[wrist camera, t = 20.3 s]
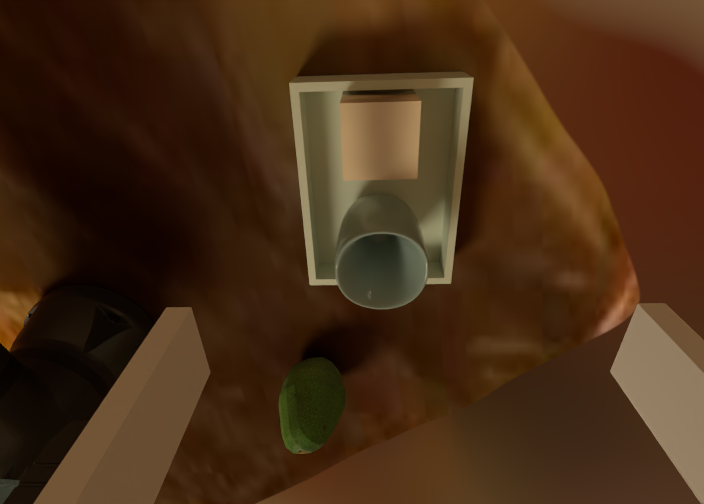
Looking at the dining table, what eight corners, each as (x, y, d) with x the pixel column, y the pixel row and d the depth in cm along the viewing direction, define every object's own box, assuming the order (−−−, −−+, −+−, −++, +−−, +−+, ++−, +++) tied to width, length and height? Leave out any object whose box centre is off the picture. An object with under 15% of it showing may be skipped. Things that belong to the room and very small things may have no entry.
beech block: (346, 158, 38) (343, 180, 33) (343, 90, 35) (339, 103, 30) (410, 156, 38) (417, 179, 33) (412, 88, 35) (421, 101, 30)
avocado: (274, 365, 53) (253, 450, 43) (314, 333, 50) (301, 416, 40) (319, 395, 56) (309, 481, 46) (360, 367, 53) (358, 452, 43)
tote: (313, 264, 45) (309, 285, 42) (296, 76, 35) (289, 83, 32) (444, 262, 45) (450, 283, 41) (463, 71, 35) (473, 77, 31)
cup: (340, 181, 39) (333, 227, 31) (420, 183, 39) (436, 231, 31) (339, 250, 43) (333, 309, 35) (412, 253, 43) (424, 312, 34)
